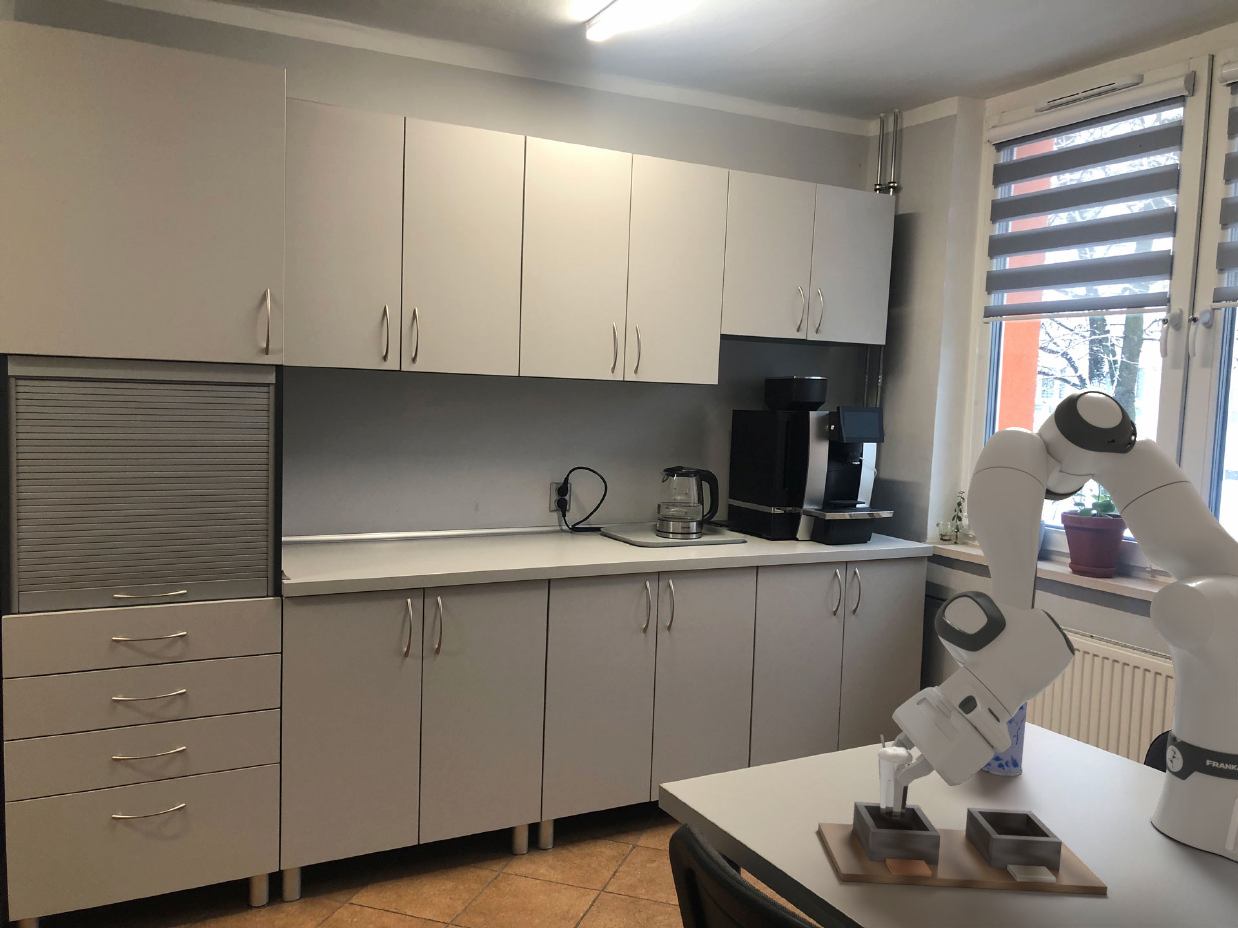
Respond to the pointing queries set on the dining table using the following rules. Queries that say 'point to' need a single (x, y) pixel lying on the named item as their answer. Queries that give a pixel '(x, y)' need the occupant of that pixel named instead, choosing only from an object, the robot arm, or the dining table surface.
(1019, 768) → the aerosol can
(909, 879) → the port board
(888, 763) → the milkshake
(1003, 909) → the dining table surface
